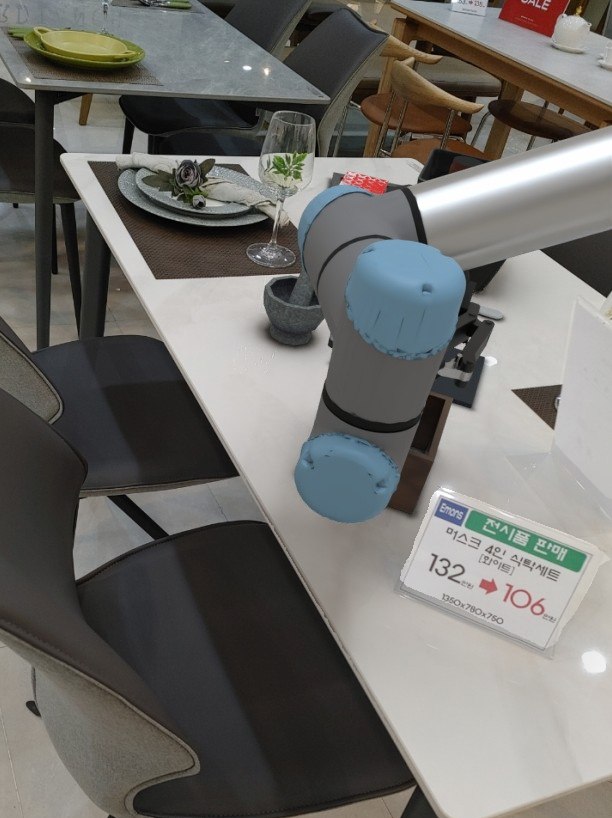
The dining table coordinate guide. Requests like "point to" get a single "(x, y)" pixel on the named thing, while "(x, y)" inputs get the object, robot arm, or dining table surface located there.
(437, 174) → the flower pot
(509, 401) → the dining table surface
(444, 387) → the slate mat
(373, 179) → the red and white box
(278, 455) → the dining table surface
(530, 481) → the dining table surface
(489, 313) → the butter knife
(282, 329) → the mortar and pestle
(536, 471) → the dining table surface
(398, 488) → the open wooden box
